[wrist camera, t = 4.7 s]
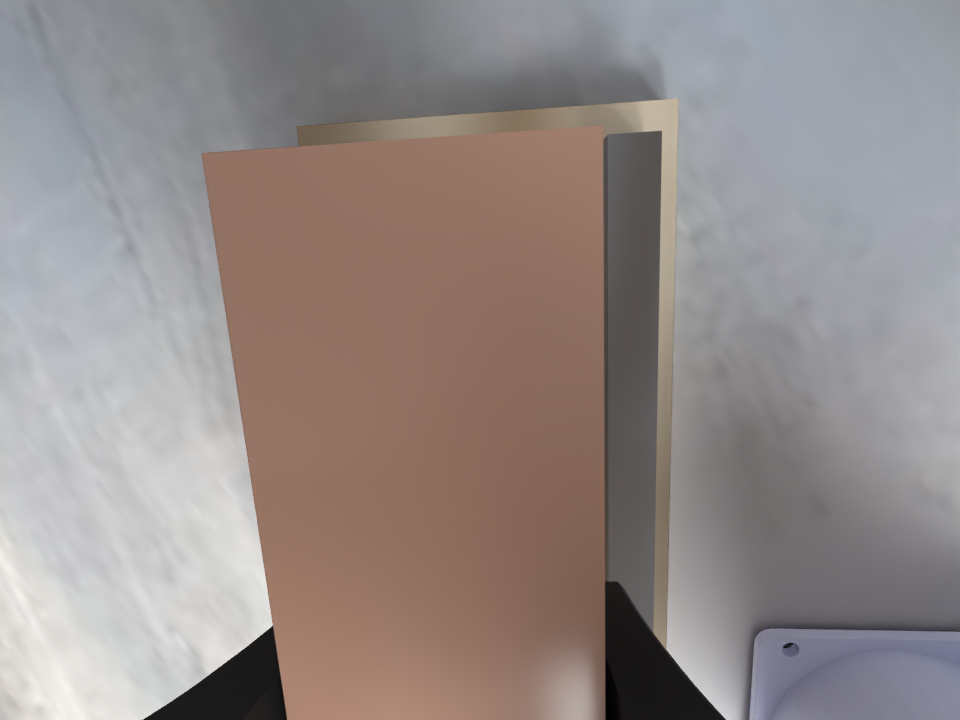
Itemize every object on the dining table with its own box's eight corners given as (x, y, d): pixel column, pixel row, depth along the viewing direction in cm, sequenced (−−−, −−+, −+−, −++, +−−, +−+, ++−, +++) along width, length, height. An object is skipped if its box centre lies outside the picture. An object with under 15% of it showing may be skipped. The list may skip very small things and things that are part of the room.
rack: (668, 107, 16) (700, 79, 13) (656, 721, 20) (678, 811, 17) (313, 132, 17) (263, 112, 14) (376, 712, 21) (349, 795, 18)
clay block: (571, 170, 10) (603, 125, 6) (582, 871, 14) (607, 1216, 9) (352, 184, 11) (202, 152, 6) (417, 861, 14) (357, 1186, 10)
